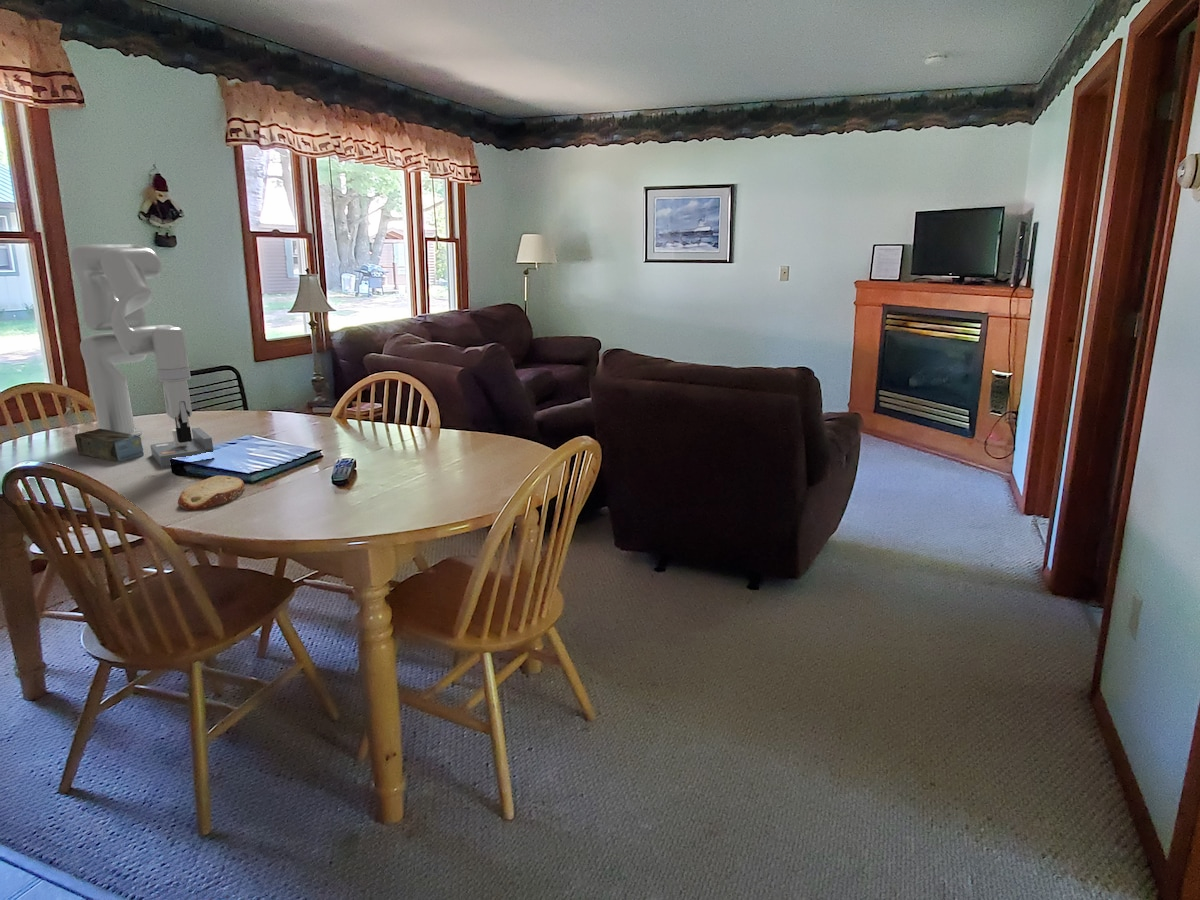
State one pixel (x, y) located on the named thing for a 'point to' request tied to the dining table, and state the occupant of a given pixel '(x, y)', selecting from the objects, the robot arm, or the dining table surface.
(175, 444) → the knob
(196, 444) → the grey slide switch panel
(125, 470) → the dining table surface
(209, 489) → the bread slice
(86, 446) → the beverage carton
